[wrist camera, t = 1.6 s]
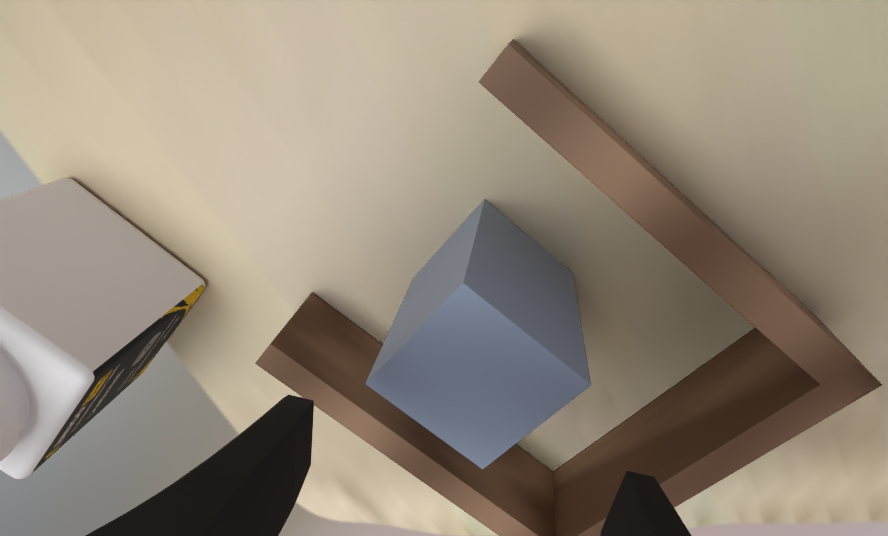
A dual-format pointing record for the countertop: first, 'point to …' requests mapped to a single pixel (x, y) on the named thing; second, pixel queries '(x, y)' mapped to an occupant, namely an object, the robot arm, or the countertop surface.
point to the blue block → (485, 340)
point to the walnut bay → (649, 430)
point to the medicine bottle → (75, 315)
